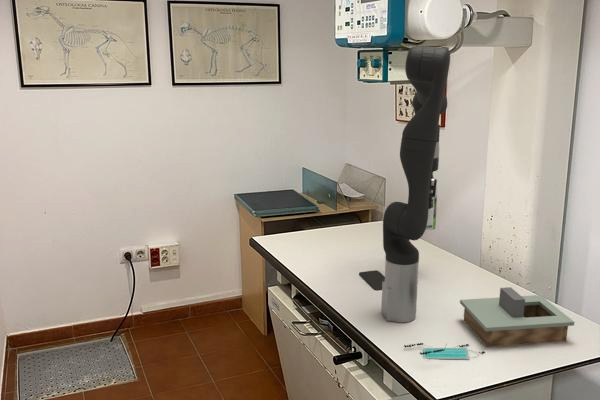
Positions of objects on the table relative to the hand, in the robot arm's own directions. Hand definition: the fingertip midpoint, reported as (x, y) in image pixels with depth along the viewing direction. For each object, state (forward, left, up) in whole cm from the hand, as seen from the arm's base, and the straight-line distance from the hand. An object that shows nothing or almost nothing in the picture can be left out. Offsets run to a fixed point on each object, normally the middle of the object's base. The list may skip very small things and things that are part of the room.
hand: (424, 205), depth 194 cm
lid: (+12, -42, -19) cm, 48 cm away
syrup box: (0, 0, -8) cm, 8 cm away
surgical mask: (-11, -51, -25) cm, 58 cm away
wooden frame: (+12, -42, -24) cm, 50 cm away
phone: (-16, -3, -25) cm, 30 cm away
